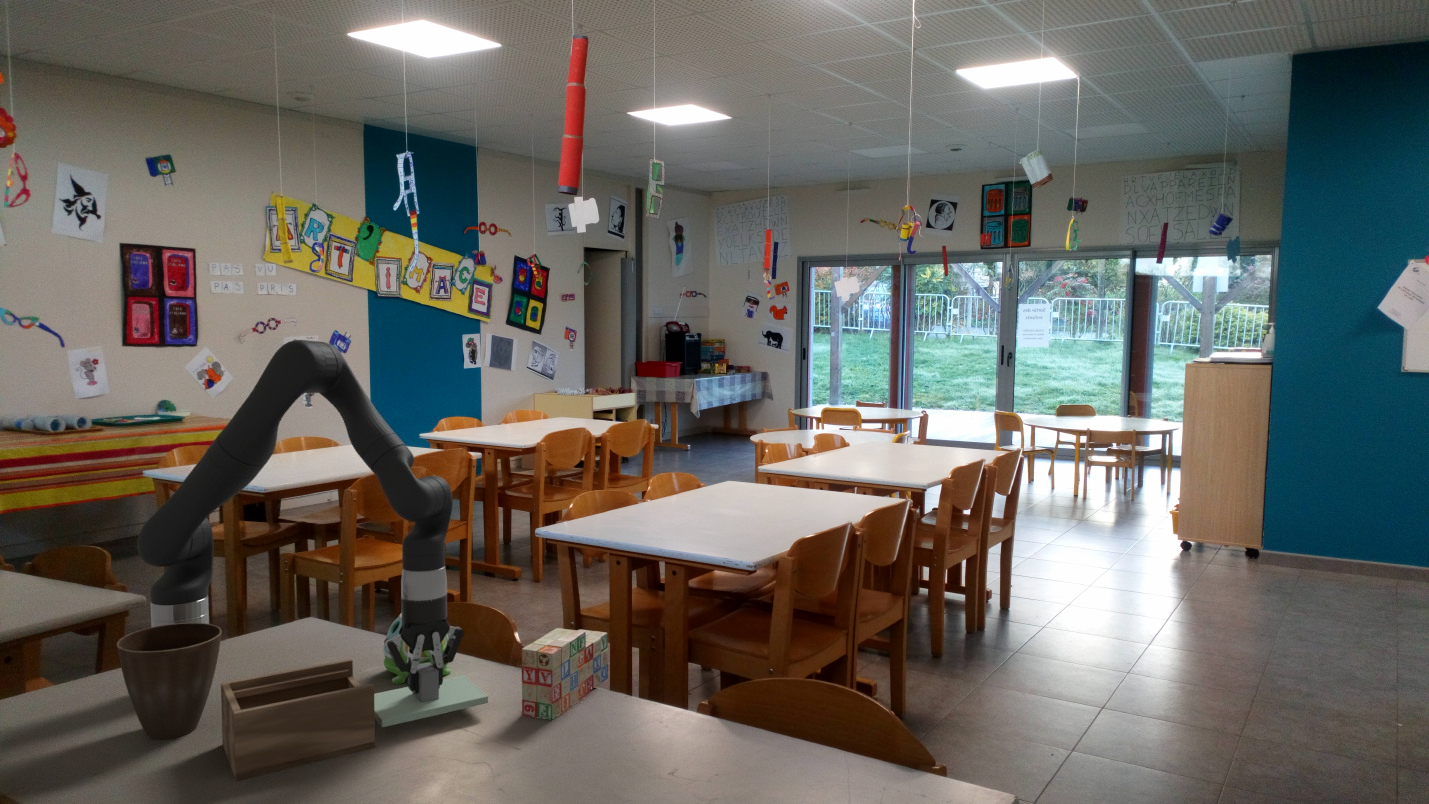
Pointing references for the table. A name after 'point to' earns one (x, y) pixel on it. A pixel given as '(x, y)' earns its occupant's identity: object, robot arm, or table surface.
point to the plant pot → (170, 675)
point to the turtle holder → (404, 650)
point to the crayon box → (295, 718)
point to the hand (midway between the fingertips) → (425, 689)
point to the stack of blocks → (562, 670)
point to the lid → (426, 698)
